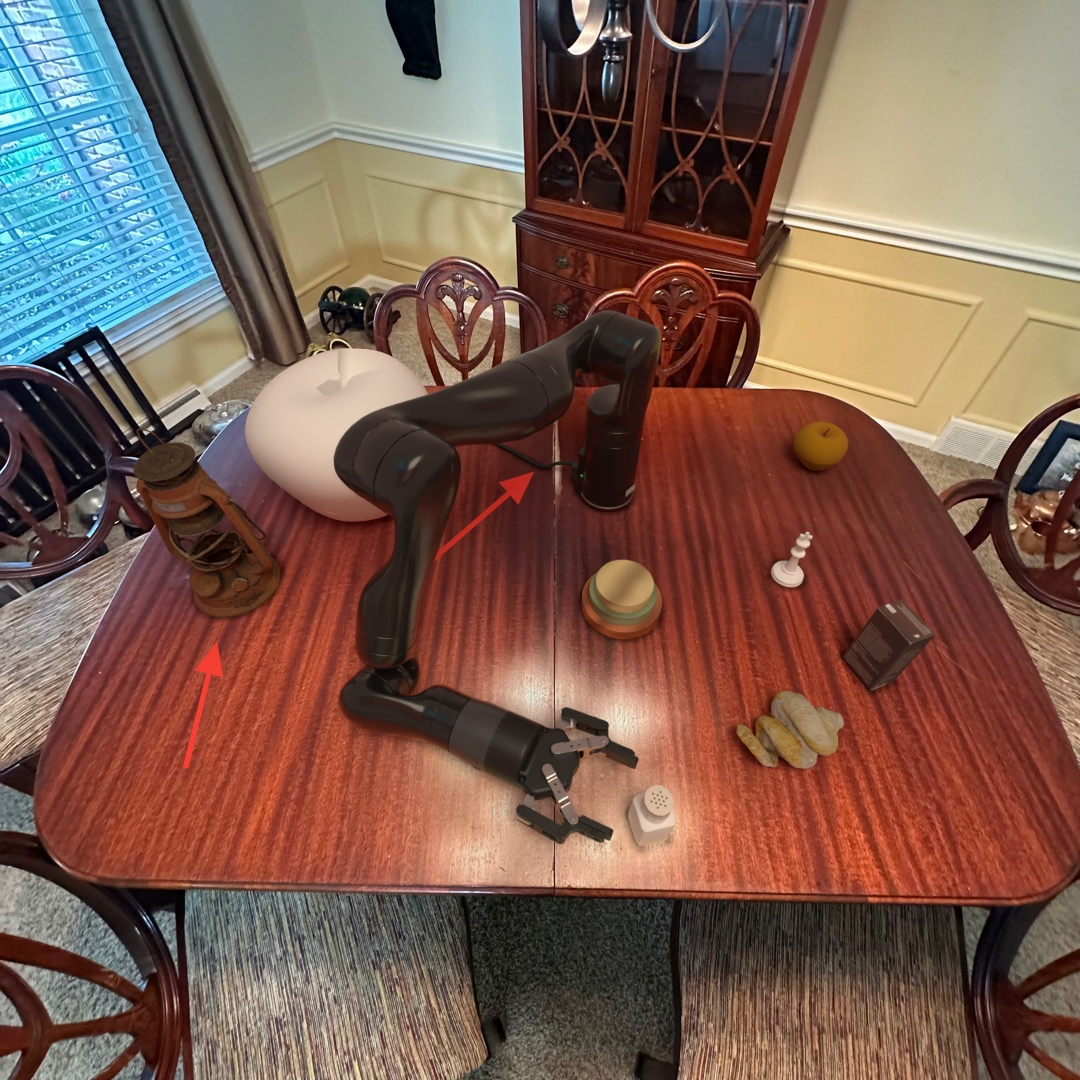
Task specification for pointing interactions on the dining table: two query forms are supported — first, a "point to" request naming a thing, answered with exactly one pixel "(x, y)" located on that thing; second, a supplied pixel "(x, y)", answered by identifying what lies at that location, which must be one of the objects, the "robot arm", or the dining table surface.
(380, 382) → the pale giant fruit
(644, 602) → the ring stack
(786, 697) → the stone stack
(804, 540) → the chess piece
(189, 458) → the lantern
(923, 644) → the box
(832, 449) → the apple
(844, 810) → the dining table surface
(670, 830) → the pepper shaker
